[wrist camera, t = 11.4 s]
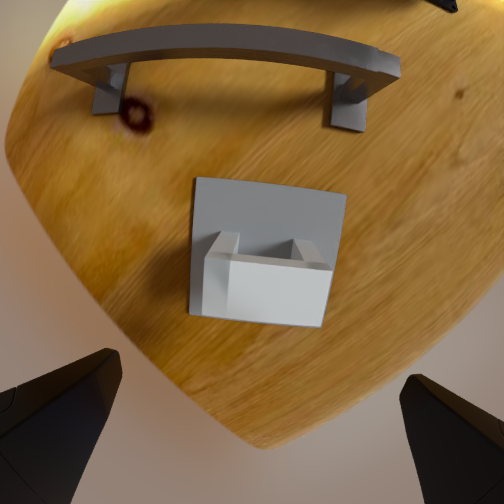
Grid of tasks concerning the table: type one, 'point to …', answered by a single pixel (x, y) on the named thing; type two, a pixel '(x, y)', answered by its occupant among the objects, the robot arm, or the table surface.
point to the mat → (262, 224)
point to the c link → (265, 284)
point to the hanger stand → (232, 47)
